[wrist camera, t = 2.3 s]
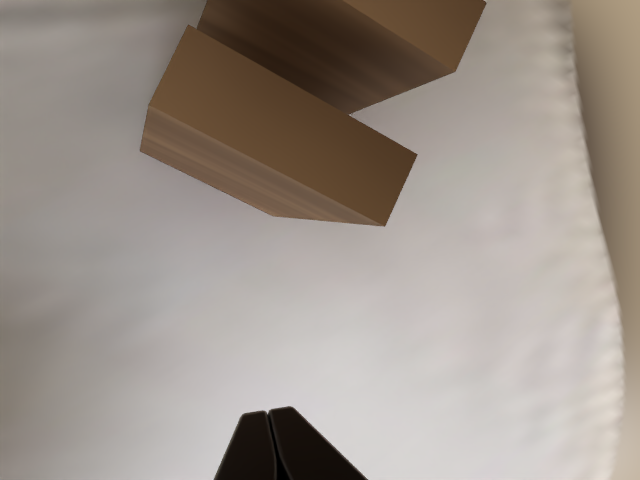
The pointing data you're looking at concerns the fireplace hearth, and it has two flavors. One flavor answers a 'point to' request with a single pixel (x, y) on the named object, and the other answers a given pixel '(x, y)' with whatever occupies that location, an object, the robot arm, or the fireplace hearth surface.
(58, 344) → the fireplace hearth surface
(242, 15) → the domino
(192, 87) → the domino
